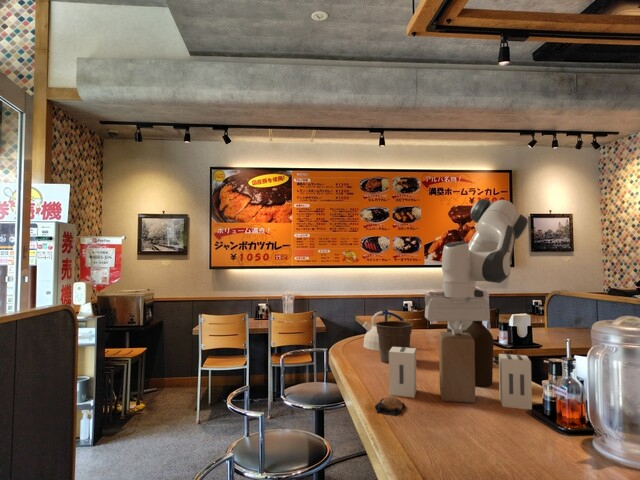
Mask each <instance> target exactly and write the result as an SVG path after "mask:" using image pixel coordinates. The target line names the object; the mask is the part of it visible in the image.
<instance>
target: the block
mask: <svg viewBox="0 0 640 480" xmlns="http://www.w3.org/2000/svg"><path fill="white" fill-rule="evenodd" d="M438 336H439V337H438V339H439V340H438V342H439V343H438V347H439V348H438V350H439V351H438V352H439V354H438V355H439V363H438V364H439V391H440V398H441V400H442V401H444V402H452V403H453V402H454V403H464V404H465V403H466V404H473V403H475V401H476V386H475V345H474V339H473V338H472V336H471V335H470V334H469V333H463V335H452V332H447V331H441V332H440V333H439V335H438Z"/></svg>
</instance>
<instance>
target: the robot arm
mask: <svg viewBox="0 0 640 480" xmlns="http://www.w3.org/2000/svg"><path fill="white" fill-rule="evenodd" d="M470 219H471V220H472V221H473V222H474V223H476V224H477V228H476V231H475V232H474V234H473V235H472V237H471V239H470V240H469V242H467V241H462V240H461V241H459V240H458V241H451V242H447V243H445V244H444V245H443V250H442V254H441V255H442V256H441V271H442V275H443V276H442V277H443V278H442V281H441V285H442V286H441V288H442V290H441V291H429V292H427V293H426V294H425V295H424V303H425V307H424V309H425V310H424V318H425V319H426V320H427V321H429V322H447V327H446V332H452V335H463V333H464V331H465V330H466V329H467V328H468V327H469V326H470V325H471V324H472V321H482V322H487V321H488V320H489V319H490V318H491V314H490V313H491V310H490V304H489V301H488V300H487V295H488V294H487V291H485V290H482V289H479V288H476V283H477V282H488V283H494V284H495V283H496V284H500V283H502V282H504V281H505V280H506V279H507V278H509V276H510V274H511V261H512V259H513V253H514V248H515V243H516V240H518V239H519V238H520V237H522V236H523V235H524V234H525V233H526V231H527V228H528V223H529V220H528V218H527V217H525V216H524V215H523V214H521V213H518V212H517V209H516V206H515V205H514V204H513V203H512V202H511V201H509V200H505V199H498V200H495V201H491V199H487V198H481V199H478V200H477V201H476V202H474V204H473V205H472V207H471V209H470ZM495 361H496V358H495V357H494V356H493V362H495Z"/></svg>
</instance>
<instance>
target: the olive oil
mask: <svg viewBox="0 0 640 480" xmlns="http://www.w3.org/2000/svg"><path fill="white" fill-rule="evenodd" d="M464 333H469V334H470V335H471V336H472V338H473V339H474V345H475V387H478V388H480V387H482V388H486V387H492V386H493V380H494V379H493V376H494V375H493V374H494V373H493V371H494V369H493V368H494V365H493V364H494V361H493V357H494V345H495V342H494V336H493V334H492V333H491V331H490V330H489V329H488V327H486V326H485V325H484V323H483V321H472V324H471V325H470V326H469V327H468V328H467V329H466V330H465V331H464Z"/></svg>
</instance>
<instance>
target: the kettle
mask: <svg viewBox="0 0 640 480" xmlns="http://www.w3.org/2000/svg"><path fill="white" fill-rule="evenodd" d="M379 315H389V316H392V317H394V318H396V319H397V320H398V321H403V322H404V318H402V317H401V316H399V315H397V314H396V313H394V312H391V311H385V310H382V311H377V312H376V313H375V314H373V316H372V318H371V324H370V323H369V322H368V321H365V322H364V323H363V325H362V327H363V328H364V329H365V330H366V333H365V335H364V337H363V338H364V339H363V348H365V349H367V350H369V351H378V352H380V348H379V338H378V333H377V327H376V325H375V323H376V318H377V317H378V316H379Z"/></svg>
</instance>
